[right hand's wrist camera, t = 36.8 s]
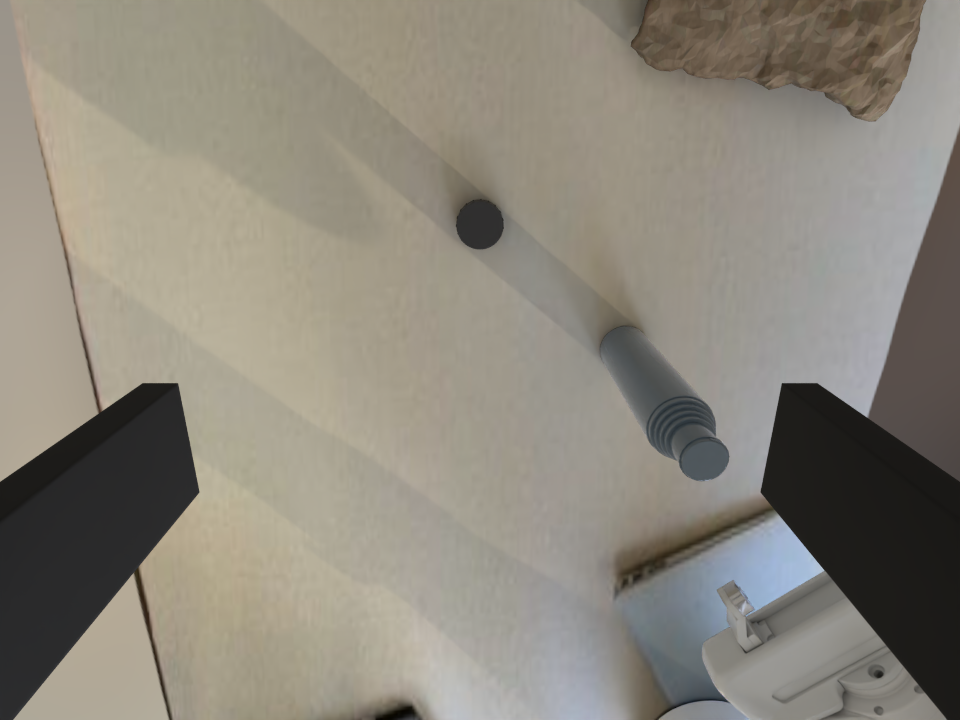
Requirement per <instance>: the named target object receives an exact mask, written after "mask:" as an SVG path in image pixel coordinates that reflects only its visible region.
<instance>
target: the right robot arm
mask: <svg viewBox="0 0 960 720" xmlns="http://www.w3.org/2000/svg"><path fill="white" fill-rule="evenodd" d="M198 493H199V488H198V482H197V477H196V472H195V467H194V462H193V457H192V452H191V447H190V442H189V437H188V432H187V427H186V422H185V416H184V411H183V406H182V401H181V396H180V391H179V386H178V383H142V384H141V385H140V386H138V387H137V388H135V389H134V390H132V391H131V392H129V393H128V394H127V395H125V396H124V397H122V398H121V399H119V400H118V401H116V402H115V403H114V404H112V405H111V406H109V407H108V408H106V409H105V410H103V411H102V412H101V413H99V414H98V415H96V416H95V417H93V418H92V419H90V420H89V421H88V422H86V423H85V424H83V425H82V426H80V427H79V428H77V429H76V430H75V431H73V432H72V433H70V434H69V435H67V436H66V437H64V438H63V439H62V440H60V441H59V442H57V443H56V444H54V445H53V446H51V447H50V448H48V449H47V450H46V451H44V452H43V453H41V454H40V455H39V456H37V457H35V458H34V459H33V460H31V461H30V462H28V463H27V464H25V465H24V466H22V467H21V468H20V469H18V470H17V471H15V472H14V473H12V474H11V475H9V476H8V477H7V478H5V479H4V480H2V481H1V482H0V720H13V719H14V718H15V717H16V715H17V714H18V713H19V712H20V711H21V709H22V708H23V707H24V706H25V705H26V703H27V702H28V701H29V700H30V698H31V697H32V696H33V695H34V694H35V692H36V691H37V690H38V689H39V687H40V686H41V685H42V684H43V683H44V681H45V680H46V679H47V678H48V676H49V675H50V674H51V673H52V672H53V670H54V669H55V668H56V667H57V665H58V664H59V663H60V662H61V661H62V659H63V658H64V657H65V656H66V654H67V653H68V652H69V651H70V650H71V648H72V647H73V646H74V645H75V644H76V642H77V641H78V640H79V639H80V637H81V636H82V635H83V634H84V633H85V631H86V630H87V629H88V628H89V626H90V625H91V624H92V623H93V622H94V620H95V619H96V618H97V617H98V615H99V614H100V613H101V612H102V610H103V609H104V608H105V607H106V606H107V604H108V603H109V602H110V601H111V600H112V598H113V597H114V596H115V595H116V593H117V592H118V591H119V590H120V589H121V587H122V586H123V585H124V584H125V583H126V581H127V580H128V579H129V578H130V576H131V575H132V574H133V573H134V572H135V570H136V569H137V568H138V567H139V565H140V564H141V563H142V562H143V561H144V559H145V558H146V557H147V556H148V554H149V553H150V552H151V551H152V550H153V548H154V547H155V546H156V545H157V543H158V542H159V541H160V540H161V539H162V537H163V536H164V535H165V534H166V532H167V531H168V530H169V529H170V528H171V526H172V525H173V524H174V523H175V522H176V520H177V519H178V518H179V517H180V515H181V514H182V513H183V512H184V511H185V509H186V508H187V507H188V506H189V504H190V503H191V502H192V501H193V500H194V498H195V497H196V496H197V495H198ZM761 493H762V495H763V496H764V497H765V498H766V500H767V501H768V502H769V503H770V504H771V506H772V507H773V508H774V509H775V511H776V512H777V513H778V514H779V515H780V517H781V518H782V519H783V520H784V522H785V523H786V524H787V525H788V526H789V528H790V529H791V530H792V531H793V532H794V534H795V535H796V536H797V537H798V539H799V540H800V541H801V542H802V543H803V545H804V546H805V547H806V548H807V550H808V551H809V552H810V553H811V554H812V556H813V557H814V558H815V559H816V561H817V562H818V563H819V564H820V565H821V567H822V568H823V569H824V570H825V572H826V573H827V574H828V575H829V576H830V578H831V579H832V580H833V581H834V583H835V584H836V585H837V586H838V587H839V589H840V590H841V591H842V592H843V593H844V595H845V596H846V597H847V598H848V600H849V601H850V602H851V603H852V604H853V606H854V607H855V608H856V609H857V611H858V612H859V613H860V614H861V615H862V617H863V618H864V619H865V620H866V622H867V623H868V624H869V625H870V626H871V628H872V629H873V630H874V631H875V633H876V634H877V635H878V636H879V637H880V639H881V640H882V641H883V642H884V644H885V645H886V646H887V647H888V648H889V650H890V651H891V652H892V653H893V654H894V656H895V657H896V658H897V659H898V661H899V662H900V663H901V664H902V665H903V667H904V668H905V669H906V670H907V672H908V673H909V674H910V675H911V676H912V678H913V679H914V680H915V681H916V683H917V684H918V685H919V686H920V687H921V689H922V690H923V691H924V692H925V694H926V695H927V696H928V697H929V698H930V700H931V701H932V702H933V703H934V705H935V706H936V707H937V708H938V709H939V711H940V712H941V713H942V714H943V715H944V717H945V718H946V719H947V720H960V482H959V481H958V480H956V479H955V478H953V477H952V476H951V475H949V474H948V473H946V472H945V471H943V470H942V469H940V468H939V467H937V466H936V465H935V464H933V463H932V462H930V461H929V460H927V459H926V458H925V457H923V456H922V455H920V454H919V453H917V452H916V451H914V450H913V449H912V448H910V447H909V446H907V445H906V444H904V443H903V442H901V441H900V440H898V439H897V438H896V437H894V436H893V435H891V434H890V433H888V432H887V431H885V430H884V429H883V428H881V427H880V426H878V425H877V424H875V423H874V422H872V421H871V420H870V419H868V418H867V417H865V416H864V415H862V414H861V413H859V412H858V411H857V410H855V409H854V408H852V407H851V406H849V405H848V404H846V403H845V402H844V401H842V400H841V399H839V398H838V397H836V396H835V395H833V394H832V393H831V392H829V391H828V390H826V389H825V388H823V387H822V386H820V385H819V384H818V383H782V386H781V391H780V396H779V401H778V406H777V411H776V416H775V422H774V427H773V432H772V437H771V442H770V447H769V452H768V457H767V462H766V467H765V472H764V477H763V482H762V488H761Z"/></svg>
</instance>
